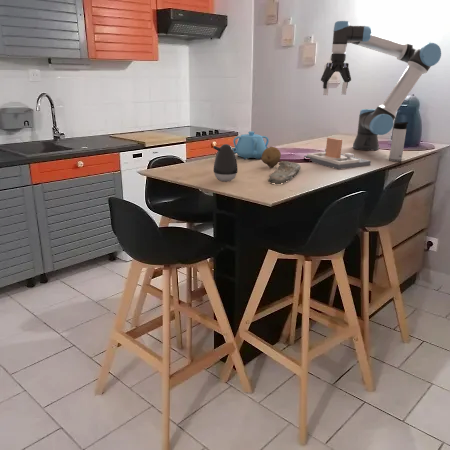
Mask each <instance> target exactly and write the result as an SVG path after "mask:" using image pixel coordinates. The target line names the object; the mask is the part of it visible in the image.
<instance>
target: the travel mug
mask: <svg viewBox="0 0 450 450" xmlns="http://www.w3.org/2000/svg"><path fill="white" fill-rule="evenodd" d="M408 124H409V122H408V121H406V122H404V121H403V122H395V123H393V131H392V136H391V143H390V151H389V157H388V160H389V161H391V162H402V161H403V160H402V159H403V154H404V147H405V141H406V136H407V135H406V133H407V126H408Z"/></svg>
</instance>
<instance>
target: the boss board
mask: <svg viewBox="0 0 450 450" xmlns="http://www.w3.org/2000/svg"><path fill="white" fill-rule="evenodd" d="M324 152H326V148H324ZM341 155H343V156H345V157H347V159H351V158H355V159H359V160H360V162H355V163H348V164H340V165H338V164H335V163H331V162H327V161H323V160H320V159H316V158H312V157H308V156H307V155H304V156H303V158H304V157H306V158H310V159H311V161H312V162H311V163H315V164H317V163H318V165H321V164H322V166H325V165H326V166H325V167H328V166H330V168H332V167H334V168H333V169H335V168H337V169H336V170H342V169H341V168H345V169H349V168H350V167H352V168H356V167H357V168H358V167H364V166H371V161H372V160H368V159H364V158H359V157H356V156H355V157H354V153H349V152H346V153H344V154H343V153H341ZM319 156H321V155H319ZM338 161H341V160H338ZM345 161H346V160H345Z"/></svg>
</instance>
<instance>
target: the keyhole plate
mask: <svg viewBox="0 0 450 450" xmlns="http://www.w3.org/2000/svg"><path fill="white" fill-rule="evenodd" d="M342 144H343V139H340V138H334V137H326V147H325V149H326V152H325V151H321V152H312V153H307V154H306V156H308V157H312V158H316V159H320V160H323V161H327V162H331V163H335V164H338V165H340V164H348V163H355V162H360V160H359V159H355V158H351V159H347V157H345V156H343V155H344V154H343V155H341V154H342V148H343V146H342ZM319 155H321V156H319ZM338 160H341V161H338ZM345 160H346V161H345Z"/></svg>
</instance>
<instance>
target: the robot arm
mask: <svg viewBox="0 0 450 450" xmlns="http://www.w3.org/2000/svg"><path fill="white" fill-rule="evenodd" d="M332 31H333V36H332V47H331V55H330V60H331V62H327V63H326V67H325V69H324V71H323V74H322V76H321V78H320V81H321V83H323V85H322V86H323V87H322V88H323V96H328V94H329V86H330V82H329V80H330V79H331V78H332V76H333V75H334V74H335V72H337V73H340V77H341V78H342V81H343V82H342V84H341V85H342V88H341V95H347V89H348V85H349V83H350V82H351V81H352V77H351V73H350V69H349V67H350V66H349V62H345V61H346V59H347V55H346V53H347V51H348V50H347V49H348V44H352V45H355V46H359V47H362V48H365V49H369V50H373V51H376V52H378V53H382V54H385V55H389V56H392V57H395V58H396V59H397V60H399V61H401V62H405V63H406V64H407V68H406V69H405V70H404V72H403V74H402V75H401V76H400V78H399V79H398V80H397V82H396V83H395V85H394V87H393V88H392V89H391V91H390V93H389V94H388V96H387V97H386V99H385V100H384V102H383V103H382V104H381V105H378V106H377V107H376V108H365V109H361V110H360V111H359V116H358V117H359V118H358V123H357V124H358V125H357V131H356V132H357V134H356V136H355V139H354V141H353V143H352V148H353V149H355V150H362V151H377V150H379V148H380V144H379V139H378V138H379V137H378V136H383V135H387V134H389V132H390V131H391V130H392V129H393V128H394V120H395V118H396V117H397V115H396V112H397V111H398V110H399V108H400V107H401V105H402V104H403V103H404V101H405V100H406V99H407V96H409V94H410V93H411V91H412V89H413V88H414V87H415V85H416V84H417V82H418V81H419V79H420V78H421V76H422V75H423V74H426V73H428V71H429V70H431V69H430V68H431V67H433V66H435V65H436V64H438V63H439V61H440V59H441V57H442V49H441V46H440V45H438V43H435V42H431V41H430V42H429V41H428V42H423V43H421V42H420V43H411V42H406V41H403V42H399V41H397V40H393V39H390V38H386V37H383V36H380V35H377V34H373V33H372V32H373V31H372V27H371V26H369V25H350V21H348V20H338V21H335V22H334V26H333V30H332Z"/></svg>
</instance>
